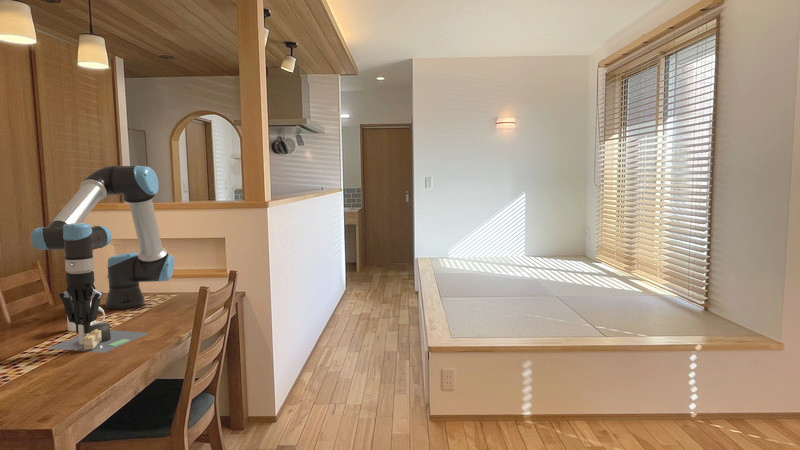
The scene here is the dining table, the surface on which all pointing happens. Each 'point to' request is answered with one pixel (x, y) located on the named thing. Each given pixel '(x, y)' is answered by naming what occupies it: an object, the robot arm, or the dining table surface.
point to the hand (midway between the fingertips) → (84, 342)
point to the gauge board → (102, 347)
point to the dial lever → (97, 335)
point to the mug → (73, 326)
